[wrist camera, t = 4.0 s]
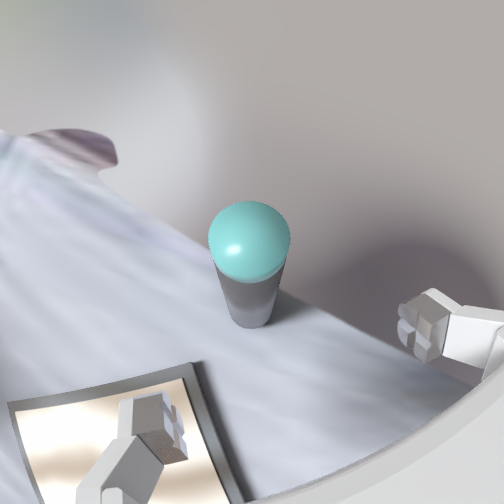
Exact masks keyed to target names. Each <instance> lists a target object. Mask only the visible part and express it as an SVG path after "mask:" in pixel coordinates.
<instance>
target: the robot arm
mask: <svg viewBox="0 0 504 504" xmlns="http://www.w3.org/2000/svg"><path fill="white" fill-rule="evenodd" d="M398 315H399V316H400V317H401V319H400V320H399V322H398V325H397V332H398V335H399V338H400V340H401V342H402V343H403V344H404V345H405V346H406V347H408V348H412V349H414V355H415V356H416V357H417V358H418V359H419V360H420V361H422V362H423V363H424V364H427V363H429V362H431V361H432V360H434V359H436V358H437V357H439V356H441V355H442V354H443V356H445V357H448V358H451V359H454V360H457V361H460V362H463V363H466V364H469V365H472V366H475V367H478V368H481V369H484V372H483V375H482V378H481V383H480V384H479V385H477V386H476V387H475V388H474V389H472V390H471V391H470V392H469V393H467V394H466V395H465V396H463V397H462V398H461V399H459V400H458V401H457V402H455V403H454V404H452V405H451V406H450V407H448V408H447V409H445V410H444V411H443V412H441V413H440V414H438V415H437V416H435V417H434V418H432V419H431V420H429V421H428V422H426V423H425V424H423V425H422V426H420V427H418V428H417V429H415V430H414V431H412V432H410V433H409V434H407V435H405V436H404V437H402V438H400V439H398V440H397V441H395V442H393V443H391V444H390V445H388V446H386V447H384V448H382V449H380V450H379V451H377V452H375V453H373V454H371V455H369V456H367V457H365V458H363V459H361V460H359V461H357V462H355V463H353V464H350V465H348V466H346V467H344V468H342V469H340V470H337V471H335V472H333V473H330V474H328V475H326V476H323V477H321V478H318V479H316V480H313V481H311V482H308V483H306V484H303V485H300V486H297V487H295V488H292V489H289V490H286V491H283V492H280V493H277V494H274V495H271V496H268V497H264V498H261V499H258V500H254V501H251V502H247V503H243V504H504V311H501V310H493V309H486V308H480V307H473V306H467V305H465V306H463V307H462V306H461V305H459V304H458V303H456V302H455V301H453V300H452V299H450V298H448V297H447V296H446V295H444V294H443V293H441V292H440V291H438V290H437V289H435V288H430V289H429V290H427V291H425V292H423V293H422V294H419V295H418V296H416V297H414V298H412V299H410V300H408V301H406V302H404V303H402V304H400V306H399V308H398ZM184 433H185V431H184V425H183V422H182V419H181V416H180V414H179V412H178V410H177V408H176V407H175V406H173V405H171V402H170V397H169V395H168V394H167V392H166V391H164V390H163V391H159V392H154V393H150V394H145V395H140V396H135V397H132V398H127V399H121V401H120V403H119V412H118V425H117V439H113V440H112V441H111V442H110V444H109V445H108V446H107V448H106V449H105V450H104V452H103V453H102V454H101V456H100V457H99V458H98V460H97V461H96V463H95V464H94V465H93V467H92V468H91V469H90V471H89V472H88V473H87V475H86V476H85V477H84V479H83V480H82V481H81V483H80V484H79V485H78V487H77V488H76V496H75V504H148V502H149V499H150V497H151V495H152V493H153V491H154V489H155V486H156V484H157V482H158V480H159V478H160V475H161V473H162V471H163V469H164V465H168V464H172V463H177V462H181V461H185V460H189V459H188V452H187V445H186V442H185V441H184V440H183V438H182V436H183V435H184Z"/></svg>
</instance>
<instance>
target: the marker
mask: <svg viewBox="0 0 504 504" xmlns="http://www.w3.org/2000/svg"><path fill="white" fill-rule="evenodd" d="M208 241H209V247H210V251H211V254H212V257H213V261H214V264H215V267H216V270H217V274H218V277H219V280H220V283H221V287H222V290H223V293H224V296H225V299H226V303H227V306H228V309H229V312H230V315H231V317H232V319H233V320H234V322H235V323H236V324H238V325H239V326H241V327H243V328H248V329H254V328H258V327H260V326H262V325H264V324H265V323H266V322H267V321H268V320H269V318H270V316H271V313H272V310H273V306H274V302H275V299H276V295H277V291H278V287H279V284H280V280H281V276H282V272H283V268H284V265H285V261H286V257H287V253H288V249H289V245H290V231H289V227H288V225H287V223H286V221H285V219H284V218H283V216H282V215H281V214H280V213H279V212H277V211H276V210H275V209H274V208H272V207H270V206H268V205H266V204H263V203H260V202H254V201H245V202H239V203H236V204H233V205H231V206H228V207H227V208H225V209H224V210H222V211H221V212H220V213H219V214H218V215H217V216H216V217H215V219H214V220H213V222H212V224H211V227H210V230H209V235H208Z"/></svg>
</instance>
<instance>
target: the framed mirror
mask: <svg viewBox="0 0 504 504" xmlns="http://www.w3.org/2000/svg"><path fill="white" fill-rule="evenodd" d="M163 390H164V391H166V392H167V394H168V395H169V397H170V402H171V405H173V406H175V407H176V408H177V410H178V412H179V414H180V416H181V419H182V422H183V425H184V431H185V433H184V435H183V436H182V438H183V440H184V441H185V442H186V445H187V452H188V459H189V460H185V461H181V462H177V463H172V464H168V465H164V469H163V471H162V473H161V475H160V478H159V480H158V482H157V484H156V486H155V489H154V491H153V493H152V495H151V497H150V499H149V502H148V504H243V503H246V501H245V499H244V497H243V494H242V492H241V490H240V487H239V485H238V483H237V480H236V478H235V476H234V473H233V471H232V468H231V466H230V464H229V461H228V459H227V456H226V454H225V451H224V448H223V446H222V443H221V441H220V438H219V435H218V433H217V430H216V427H215V425H214V422H213V419H212V417H211V414H210V411H209V408H208V405H207V403H206V400H205V397H204V394H203V391H202V388H201V385H200V382H199V379H198V376H197V373H196V370H195V367H194V364H193V363H192V362H189V363H185V364H182V365H178V366H175V367H171V368H168V369H164V370H160V371H157V372H153V373H149V374H145V375H141V376H137V377H133V378H129V379H125V380H121V381H117V382H113V383H108V384H104V385H100V386H95V387H90V388H86V389H81V390H76V391H71V392H66V393H61V394H55V395H50V396H44V397H38V398H32V399H26V400H19V401H12V402H7V404H8V408H9V413H10V417H11V421H12V425H13V429H14V432H15V436H16V439H17V443H18V446H19V449H20V453H21V456H22V459H23V462H24V465H25V468H26V470H27V473H28V476H29V479H30V481H31V484H32V486H33V489H34V491H35V494H36V496H37V499H38V501H39V503H40V504H75V496H76V488H77V487H78V485H79V484H80V483H81V481H82V480H83V479H84V477H85V476H86V475H87V473H88V472H89V471H90V469H91V468H92V467H93V465H94V464H95V463H96V461H97V460H98V458H99V457H100V456H101V454H102V453H103V452H104V450H105V449H106V448H107V446H108V445H109V444H110V442H111V441H112V440H113V439H117V425H118V412H119V403H120V401H121V399H127V398H132V397H135V396H140V395H145V394H150V393H154V392H159V391H163Z"/></svg>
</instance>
